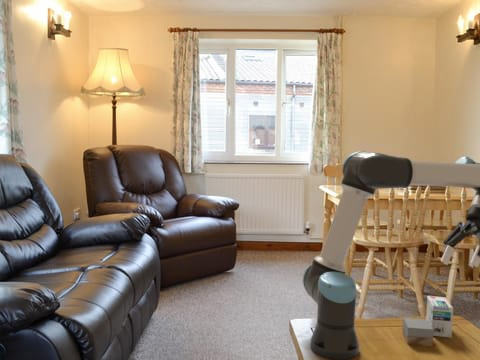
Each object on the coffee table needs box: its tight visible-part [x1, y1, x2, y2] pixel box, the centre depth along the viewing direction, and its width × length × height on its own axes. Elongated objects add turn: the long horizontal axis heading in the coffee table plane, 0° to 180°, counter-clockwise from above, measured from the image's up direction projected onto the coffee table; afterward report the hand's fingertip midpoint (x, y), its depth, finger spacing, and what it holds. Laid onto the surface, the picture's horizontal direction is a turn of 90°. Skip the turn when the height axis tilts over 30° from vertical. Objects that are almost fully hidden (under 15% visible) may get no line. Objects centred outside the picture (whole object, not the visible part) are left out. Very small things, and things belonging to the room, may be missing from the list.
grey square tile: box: [402, 317, 434, 339], centre depth 152 cm, size 8×8×3 cm
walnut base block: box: [401, 327, 434, 347], centre depth 152 cm, size 8×8×3 cm
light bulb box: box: [425, 295, 454, 338], centre depth 159 cm, size 11×7×11 cm, turn 168°
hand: (458, 264), depth 153 cm, fingers open, 13 cm apart
